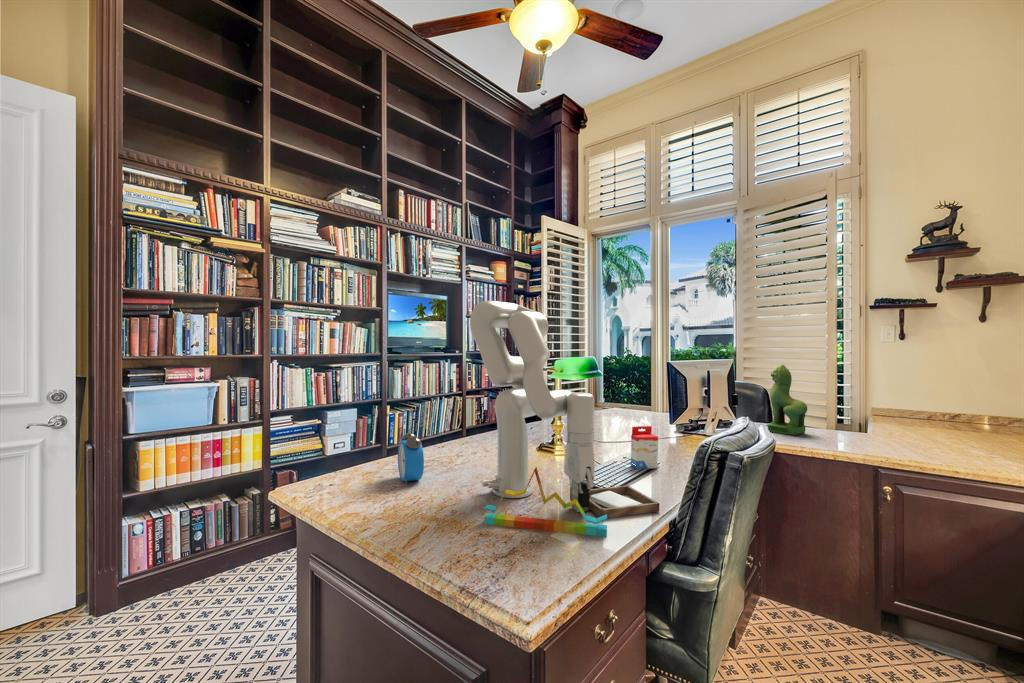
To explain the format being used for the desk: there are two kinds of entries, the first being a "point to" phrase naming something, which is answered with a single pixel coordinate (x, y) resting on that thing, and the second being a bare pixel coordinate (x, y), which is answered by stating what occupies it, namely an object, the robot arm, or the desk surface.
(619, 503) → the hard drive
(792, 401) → the lion statue
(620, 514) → the sliding frame
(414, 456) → the alarm clock
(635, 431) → the ink box
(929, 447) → the desk surface
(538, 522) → the chart
